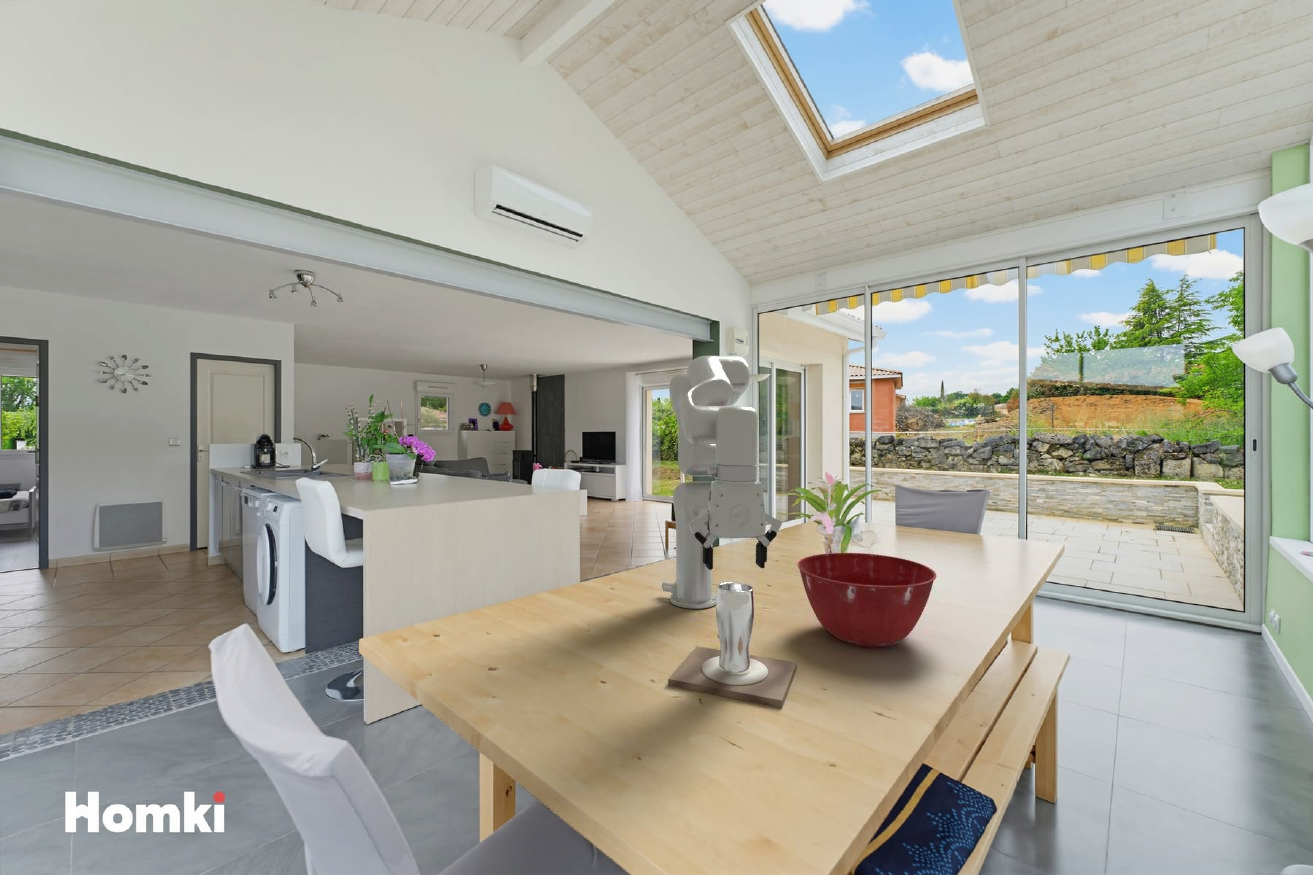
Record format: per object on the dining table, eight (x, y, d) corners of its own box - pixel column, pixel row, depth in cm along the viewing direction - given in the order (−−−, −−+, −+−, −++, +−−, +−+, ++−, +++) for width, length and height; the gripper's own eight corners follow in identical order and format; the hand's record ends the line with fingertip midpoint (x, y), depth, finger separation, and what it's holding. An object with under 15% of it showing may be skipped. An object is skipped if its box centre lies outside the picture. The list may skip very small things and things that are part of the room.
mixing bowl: (861, 673, 103) (862, 590, 103) (771, 623, 129) (772, 557, 129) (966, 649, 115) (967, 575, 114) (864, 608, 141) (864, 548, 140)
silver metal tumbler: (756, 663, 104) (757, 583, 103) (750, 678, 97) (751, 593, 97) (719, 658, 106) (720, 580, 106) (711, 672, 99) (712, 589, 99)
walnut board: (668, 685, 98) (668, 677, 98) (696, 651, 113) (696, 644, 113) (782, 707, 90) (782, 698, 90) (796, 668, 105) (796, 660, 105)
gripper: (693, 476, 96) (692, 574, 97) (788, 476, 98) (787, 571, 99) (685, 472, 103) (684, 563, 104) (774, 471, 106) (773, 560, 106)
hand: (734, 567), depth 102 cm, fingers open, 9 cm apart
